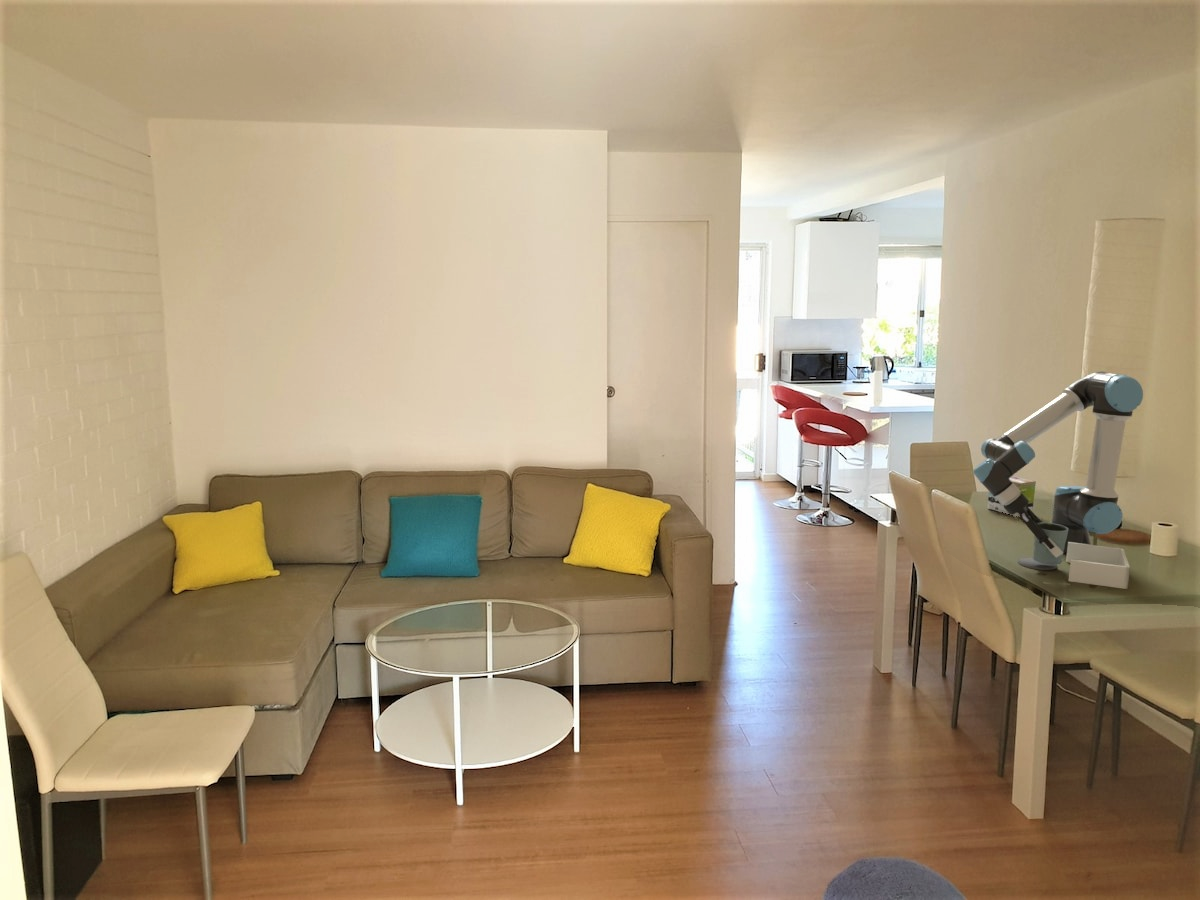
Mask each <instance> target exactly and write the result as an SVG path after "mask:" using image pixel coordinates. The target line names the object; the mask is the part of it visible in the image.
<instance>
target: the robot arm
mask: <svg viewBox="0 0 1200 900" xmlns="http://www.w3.org/2000/svg"><path fill="white" fill-rule="evenodd" d="M1143 397H1144V390H1143V386H1142V385H1141V383H1140V382H1139V381H1138V380H1137V379H1136V378H1134V377H1132V376H1129V375H1126V374H1121V373H1120V374H1119V373H1114V372H1107V371H1096V372H1092V373H1091V372H1090V373H1088V374H1086V375H1084V376H1083V377H1081V378H1079V379H1077V380H1076V381H1074V382H1073V383H1071V384H1069V385H1068V386H1066V387H1065V388H1063V390H1062V393H1061V394H1060V395H1058V396H1057V397H1056V398H1054V399H1053V400H1051V401H1050V402H1049V403H1047V404H1046V405H1044V406H1042V407H1040V409H1038V410H1037V411H1035V412H1034V413H1032V414H1030V415H1029V416H1028V417H1026V418H1025V419H1023V420H1022V421H1021V422H1019V423H1018V424H1016V425H1015V426H1013V427H1012V428H1010V429H1009V430H1007V431H1006V432H1005V433H1003V434H1002V435H1000V436H998V437H997V438H989V439H985V441H983V443H982V445H981V448H980V452H981V454H982V456H983V457H984V458H985V459H984V460H983V461H982V462H980V463H979V464H978V465H977V466H976V467H975V468H973V475H974V476H975V477H976V478H977V479H978V482H980V483H981V484H982V486H983V487H985V488H986V489H987V491H988V493H989V492H990V493H991V494H992V495H993V496H994V497H995V498H996V499H995V501H999V502H1000V504H1001V505H1004V508H1005V509H1006V510H1007V512H1008V513H1009V514H1011V515H1013V514H1015V513H1019V516H1020V517H1018V518H1019V519H1020V520H1021V521H1022V522H1023V523H1024V525H1026V527H1027V528H1028V529H1029V530H1030V531H1031V533H1032V534H1033V535H1035V536H1036V537H1037V538H1038V540H1039V543H1040V544H1041V543H1043V544H1044V545H1045V546H1046V547H1047V548H1048V549H1049V551H1050V552H1051V553H1052V554H1053V555H1054V556H1055V557H1056V558H1057V557H1058V556H1060V555H1061V554H1063V555H1064V554H1067V548H1068V542H1073V543H1082V544H1090V545H1093V544H1092V541H1091V537H1090V536H1091V535H1090V532H1091V533H1095V534H1098V535H1106V534H1108V533H1111V532H1113V531H1115V530H1116V529H1117V528H1118V527H1119V526H1120V524H1121V523H1122V520H1123V511H1122V508H1121V507H1120V506H1119V505H1118V499H1119V494H1118V493H1117V492H1116V491H1115V488H1116V487H1115V486H1116V481H1117V474H1118V469H1119V463H1120V457H1121V451H1122V445H1123V441H1124V434H1125V426H1126V422H1127V420H1129V419H1130V418H1132V416H1133V413H1134V412H1133V411H1135V410H1136V409H1137V408H1138V407H1139V406H1141V404H1142V401H1143ZM1089 407H1092V414H1093V415H1094V416H1095V417H1096V420H1095V426H1094V432H1093V438H1092V446H1091V452H1090V457H1089V463H1088V469H1087V475H1086V476H1087V477H1086V482H1085V486H1082V485H1081V486H1080V485H1060V486H1058V487H1056V488H1055V493H1054V499H1053V511H1052V519H1051V521H1052V522H1051V523H1054V524H1059V525H1063V526H1066V527H1067V528H1068V534H1067V539H1066V542H1065V546H1064V551H1063V552H1062V551H1061V549H1060V548H1059V547H1058V546H1057V545H1056V544H1055V543H1054V542H1053V541H1052V540H1051V539H1050V537H1049V538H1048V536H1047V535H1046V534H1045V533H1044V531H1043V530H1042V529H1041V527H1040V526H1039V525H1038V524H1037V523H1044V522H1043V521H1042V520H1041V519H1040V518H1039V517H1038V516H1037V514H1035V513H1034V512H1033V511H1031V509H1029V508H1028V506H1026V505H1027V504H1028V503H1029V500H1028V499H1027V498H1026V497H1025V496H1024V495H1023V494H1022V493H1020V490H1019V489H1018V488H1017V487H1016V486H1015V485H1014V483H1012V482H1011V481H1010V479H1009V478H1010V477H1011V476H1015V474H1017V473H1018V472H1019V471H1021V470H1022V469H1023V468H1024V467H1025V466H1027V465H1028V464H1030V462H1032V461H1033V460H1034V459H1035V458H1036V452H1035V451H1034V449H1033V447H1031V446H1030V445H1029V444H1030V443H1032V442H1033V441H1034V440H1036V439H1037V438H1039V437H1040V436H1042V435H1043V434H1045V433H1046V432H1047V431H1049V430H1051V429H1052V428H1054V427H1055V426H1057V425H1058V424H1060V423H1061V422H1062V421H1065V419H1067V418H1068V417H1071V416H1072V415H1073V414H1075V413H1076V412H1083V411H1084V410H1086V409H1088V408H1089ZM1011 515H1010V516H1011ZM1042 536H1043V537H1042Z"/></svg>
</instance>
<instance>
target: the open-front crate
mask: <svg viewBox="0 0 1200 900" xmlns="http://www.w3.org/2000/svg"><path fill="white" fill-rule="evenodd" d="M1065 563H1069V564H1070V565H1069V573H1068V582H1072V583H1080V584H1087V585H1093V586H1103V587H1109V588H1114V589H1115V588H1116V589H1125V590H1128V587H1129V580H1130V572H1131V571H1130V570H1131V566H1130V563H1129V561H1128V558H1127V555H1126V551H1125V549H1124V548H1122V547H1114V546H1106V545H1096V544H1092V545H1090V544H1082V543H1073V542H1068V548H1067V553H1066V558H1065Z"/></svg>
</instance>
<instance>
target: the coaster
mask: <svg viewBox="0 0 1200 900" xmlns="http://www.w3.org/2000/svg"><path fill="white" fill-rule="evenodd" d="M1017 564H1019V565H1020V566H1022V567H1025V568H1027V567H1028V569H1031V570H1038V571H1039V570H1040V571H1052V570H1053V571H1054V570H1056V569H1057V568H1058V565H1050V564H1043V563H1040V562H1037V561H1035V560H1034V559H1033V557H1021V558H1019V559H1018V560H1017Z"/></svg>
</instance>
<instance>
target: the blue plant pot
mask: <svg viewBox="0 0 1200 900" xmlns="http://www.w3.org/2000/svg"><path fill="white" fill-rule="evenodd" d="M1037 524H1038V525H1039V526H1040V527H1041V529H1042V530H1043V531H1044V533H1045V534H1046V535H1047V536H1048V538H1049V537H1050V539H1051V540H1052V541H1053V542H1054V543H1055V544H1056V545H1057V546H1058V547H1059V548H1060V549H1061V551H1062V552H1063V551H1064V546H1065V542H1066V539H1067V534H1068V528H1067V527H1066V526H1063V525H1059V524H1054V523H1052V522H1043V523H1037ZM1033 535H1034V534H1033ZM1042 537H1043V536H1042ZM1033 539H1034V543H1033V546H1034V548H1033V554H1032V555H1033V557H1032V558H1033V559H1034V560H1035V561H1037V562H1040V563H1043V564H1050V565H1057V566H1058V565H1062V562H1063V557H1064V553H1063V554H1061V555H1060V556H1058V557H1057V558H1056V557H1055V556H1054V555H1053V554H1052V553H1051V552H1050V551H1049V549H1048V548H1047V547H1046V546H1045V545H1044V544H1043V543H1041V544H1040V543H1039V540H1038V538H1037V537H1036V536H1035V535H1034V537H1033Z"/></svg>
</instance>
